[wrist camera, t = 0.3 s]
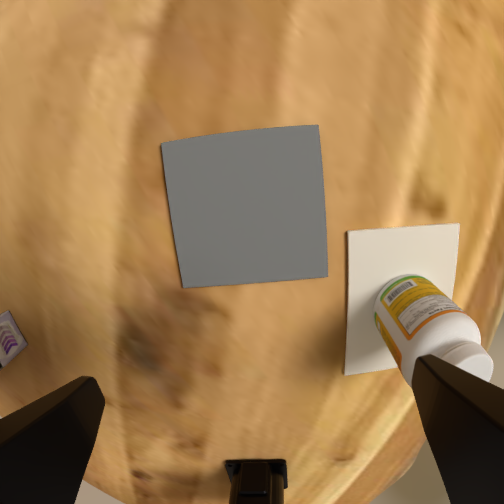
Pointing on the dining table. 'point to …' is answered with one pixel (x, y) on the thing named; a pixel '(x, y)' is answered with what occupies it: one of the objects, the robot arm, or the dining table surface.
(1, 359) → the cake pan box
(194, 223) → the slate mat
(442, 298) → the supplement bottle
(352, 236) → the tile
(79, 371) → the dining table surface
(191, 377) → the dining table surface
